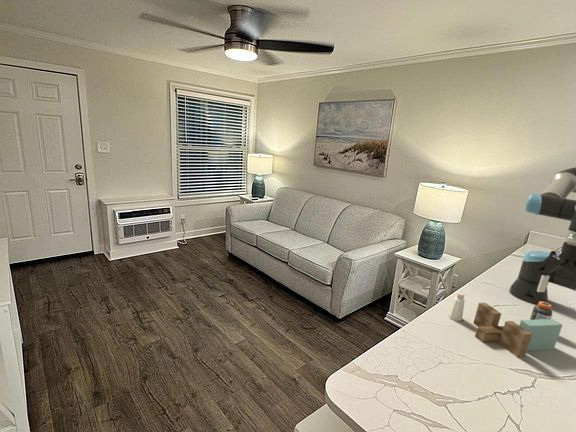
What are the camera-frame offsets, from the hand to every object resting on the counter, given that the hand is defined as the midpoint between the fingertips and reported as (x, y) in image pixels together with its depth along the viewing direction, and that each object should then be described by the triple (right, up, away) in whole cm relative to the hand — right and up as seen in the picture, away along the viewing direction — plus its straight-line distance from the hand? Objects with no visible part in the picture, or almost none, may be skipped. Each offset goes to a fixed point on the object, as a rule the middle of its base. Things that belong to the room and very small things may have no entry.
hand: (558, 301), depth 109 cm
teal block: (-6, -18, +4) cm, 19 cm away
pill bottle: (+5, -16, +16) cm, 23 cm away
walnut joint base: (-18, -16, +6) cm, 24 cm away
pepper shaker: (-27, -12, +18) cm, 35 cm away
